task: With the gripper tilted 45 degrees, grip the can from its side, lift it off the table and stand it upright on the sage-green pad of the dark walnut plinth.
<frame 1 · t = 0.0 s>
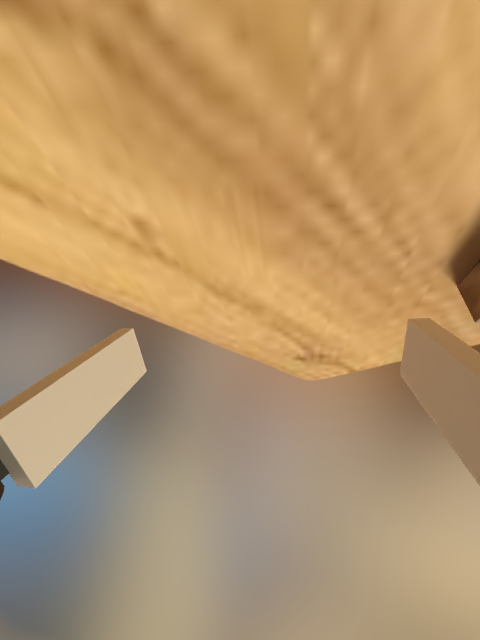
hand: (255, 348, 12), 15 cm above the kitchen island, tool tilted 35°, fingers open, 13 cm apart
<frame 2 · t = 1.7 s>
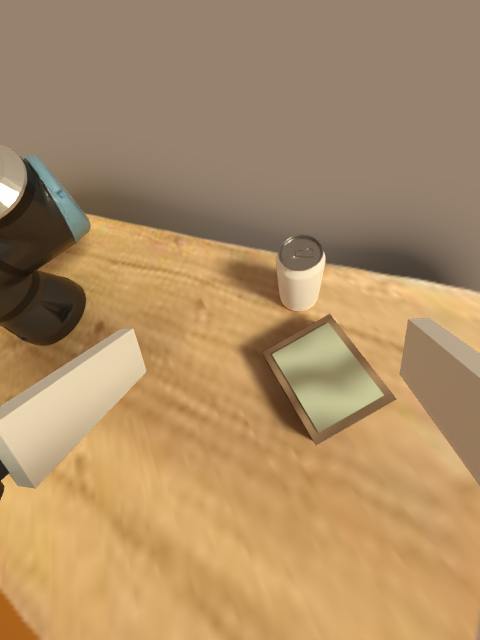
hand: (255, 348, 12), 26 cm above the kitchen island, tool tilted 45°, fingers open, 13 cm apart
plinth: (319, 379, 35), on the kitchen island
can: (298, 296, 41), on the kitchen island
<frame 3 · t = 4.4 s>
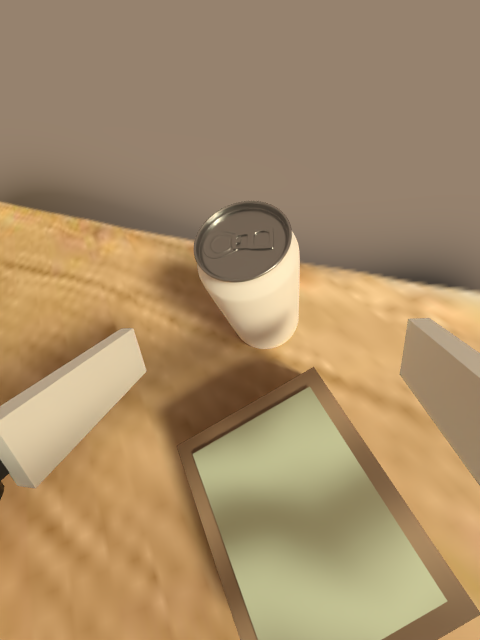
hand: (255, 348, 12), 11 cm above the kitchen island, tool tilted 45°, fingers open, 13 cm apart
plinth: (296, 489, 18), on the kitchen island
can: (266, 320, 24), on the kitchen island
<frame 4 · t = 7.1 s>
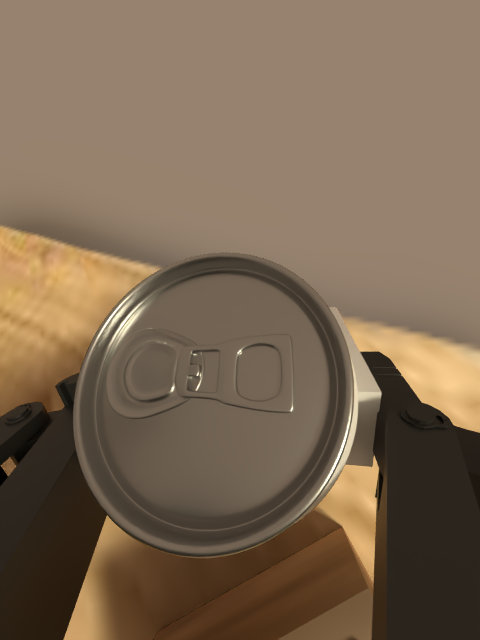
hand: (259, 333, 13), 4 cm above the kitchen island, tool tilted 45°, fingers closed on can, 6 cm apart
can: (267, 405, 16), on the kitchen island, touching gripper
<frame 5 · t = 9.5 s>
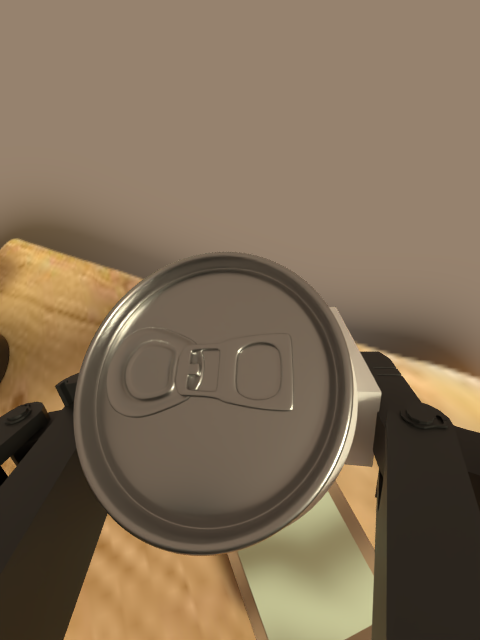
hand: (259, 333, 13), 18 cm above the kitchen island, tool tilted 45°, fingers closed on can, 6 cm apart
plinth: (295, 522, 24), on the kitchen island
can: (267, 405, 16), point 14 cm above the kitchen island, touching gripper
when the fingers open (11 cm above the kitchen island, at t = 12.2 s): can drops 1 cm, resting on plinth.
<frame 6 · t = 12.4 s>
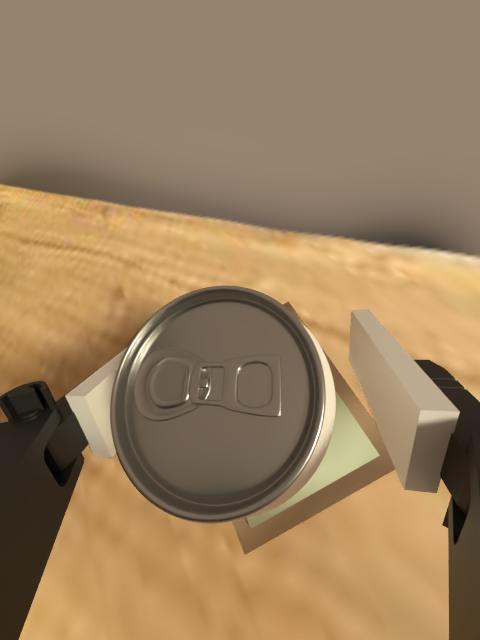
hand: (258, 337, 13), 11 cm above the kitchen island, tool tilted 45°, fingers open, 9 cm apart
plinth: (275, 409, 21), on the kitchen island
can: (269, 406, 17), point 5 cm above the kitchen island, touching plinth
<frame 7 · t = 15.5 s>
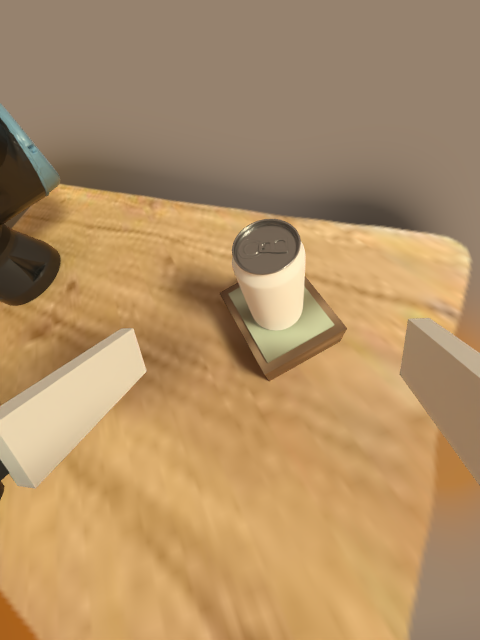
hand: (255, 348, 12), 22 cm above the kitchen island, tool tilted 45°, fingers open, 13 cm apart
plinth: (279, 323, 35), on the kitchen island
can: (276, 308, 30), point 5 cm above the kitchen island, touching plinth
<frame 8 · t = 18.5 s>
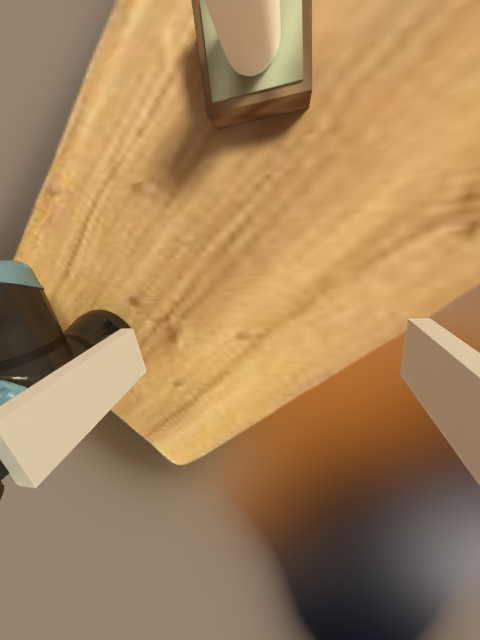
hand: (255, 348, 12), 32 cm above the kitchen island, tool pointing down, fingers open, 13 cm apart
plinth: (257, 67, 31), on the kitchen island
can: (252, 42, 27), point 5 cm above the kitchen island, touching plinth
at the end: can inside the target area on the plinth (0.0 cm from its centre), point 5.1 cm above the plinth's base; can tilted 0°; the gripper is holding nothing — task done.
